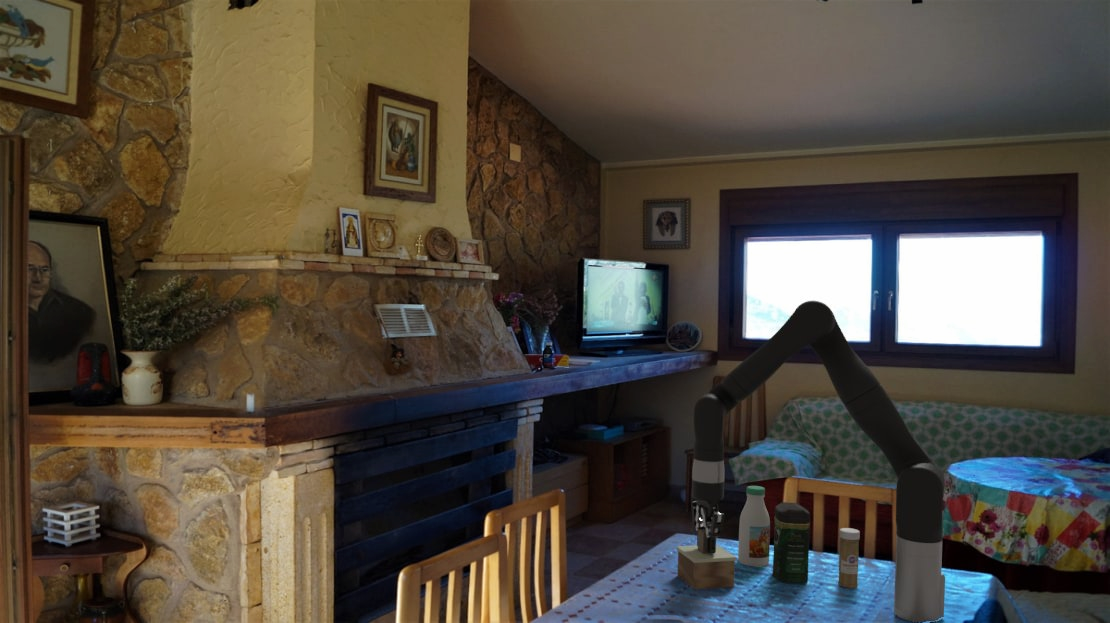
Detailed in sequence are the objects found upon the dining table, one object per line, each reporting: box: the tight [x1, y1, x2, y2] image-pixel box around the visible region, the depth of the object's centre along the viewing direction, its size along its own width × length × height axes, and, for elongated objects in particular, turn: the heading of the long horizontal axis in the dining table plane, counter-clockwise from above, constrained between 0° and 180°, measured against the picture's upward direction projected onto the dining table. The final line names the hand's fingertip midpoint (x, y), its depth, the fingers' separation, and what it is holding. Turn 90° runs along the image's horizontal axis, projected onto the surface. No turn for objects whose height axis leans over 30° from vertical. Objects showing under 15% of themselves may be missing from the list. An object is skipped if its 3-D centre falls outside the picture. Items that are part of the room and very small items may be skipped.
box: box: [677, 550, 736, 590], centre depth 205 cm, size 10×10×7 cm
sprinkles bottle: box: [838, 527, 861, 589], centre depth 207 cm, size 5×5×13 cm
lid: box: [676, 529, 738, 563], centre depth 205 cm, size 11×11×6 cm
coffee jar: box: [772, 501, 811, 585], centre depth 210 cm, size 10×8×19 cm
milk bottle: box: [737, 485, 771, 567], centre depth 221 cm, size 8×8×20 cm
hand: (706, 549), depth 205 cm, fingers open, 4 cm apart
